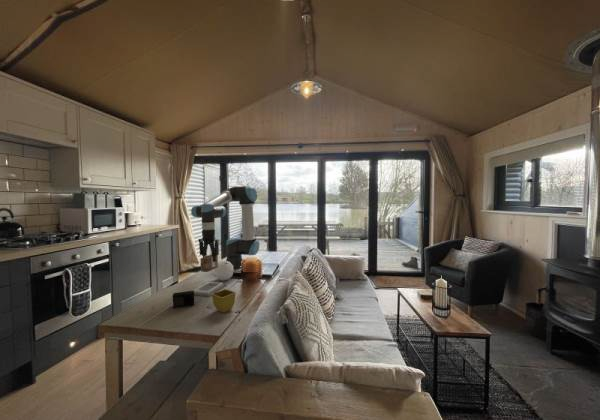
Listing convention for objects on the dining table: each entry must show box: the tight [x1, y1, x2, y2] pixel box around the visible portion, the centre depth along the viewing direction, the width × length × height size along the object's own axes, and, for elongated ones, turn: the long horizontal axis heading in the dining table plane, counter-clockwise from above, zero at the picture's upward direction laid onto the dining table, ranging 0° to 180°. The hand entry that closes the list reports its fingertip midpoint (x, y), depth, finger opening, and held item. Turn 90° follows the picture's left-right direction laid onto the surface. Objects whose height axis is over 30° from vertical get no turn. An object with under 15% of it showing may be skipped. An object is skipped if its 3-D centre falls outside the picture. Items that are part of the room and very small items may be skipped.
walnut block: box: [200, 253, 219, 273], centre depth 169 cm, size 4×11×8 cm, turn 164°
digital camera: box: [172, 290, 195, 309], centre depth 146 cm, size 10×5×7 cm, turn 109°
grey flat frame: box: [192, 281, 228, 297], centre depth 170 cm, size 20×14×2 cm
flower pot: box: [211, 288, 237, 314], centre depth 140 cm, size 9×9×9 cm
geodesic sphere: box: [213, 260, 235, 281], centre depth 189 cm, size 14×14×14 cm
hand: (209, 266), depth 169 cm, fingers closed on walnut block, 4 cm apart
